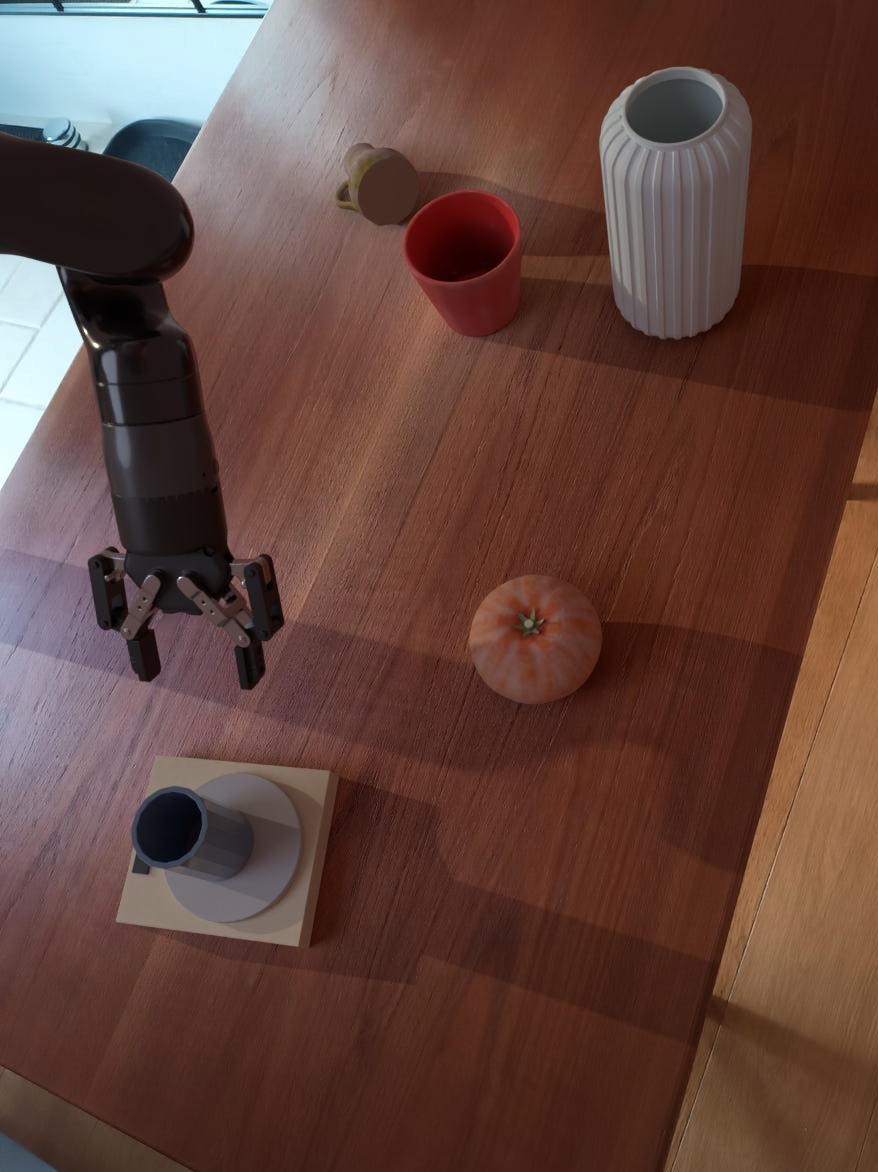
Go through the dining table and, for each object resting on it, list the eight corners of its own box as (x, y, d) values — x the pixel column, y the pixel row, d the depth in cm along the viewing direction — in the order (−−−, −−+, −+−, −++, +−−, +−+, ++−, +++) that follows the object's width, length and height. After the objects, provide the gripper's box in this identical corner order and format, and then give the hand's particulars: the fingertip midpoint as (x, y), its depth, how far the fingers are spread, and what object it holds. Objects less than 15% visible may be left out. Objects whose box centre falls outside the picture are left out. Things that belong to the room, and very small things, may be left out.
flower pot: (516, 359, 95) (499, 291, 86) (412, 341, 98) (385, 274, 89) (549, 270, 98) (536, 195, 89) (447, 255, 101) (424, 182, 92)
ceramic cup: (172, 835, 81) (118, 816, 73) (233, 793, 81) (185, 770, 74) (204, 896, 79) (151, 885, 71) (266, 853, 79) (221, 836, 71)
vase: (757, 326, 91) (779, 129, 70) (639, 370, 92) (626, 188, 71) (711, 236, 95) (719, 26, 75) (598, 279, 96) (576, 82, 76)
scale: (130, 924, 83) (110, 921, 80) (168, 760, 87) (150, 752, 84) (309, 948, 79) (294, 946, 76) (339, 776, 84) (327, 768, 81)
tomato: (617, 700, 81) (611, 670, 74) (490, 728, 82) (471, 700, 75) (590, 583, 85) (582, 543, 78) (469, 611, 86) (450, 574, 79)
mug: (384, 150, 108) (397, 99, 98) (416, 235, 108) (433, 193, 98) (319, 168, 106) (326, 118, 96) (353, 254, 106) (363, 213, 97)
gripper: (43, 490, 68) (92, 697, 75) (233, 496, 65) (265, 712, 72) (104, 462, 74) (143, 654, 81) (279, 466, 71) (305, 666, 78)
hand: (201, 681), depth 77 cm, fingers open, 8 cm apart
